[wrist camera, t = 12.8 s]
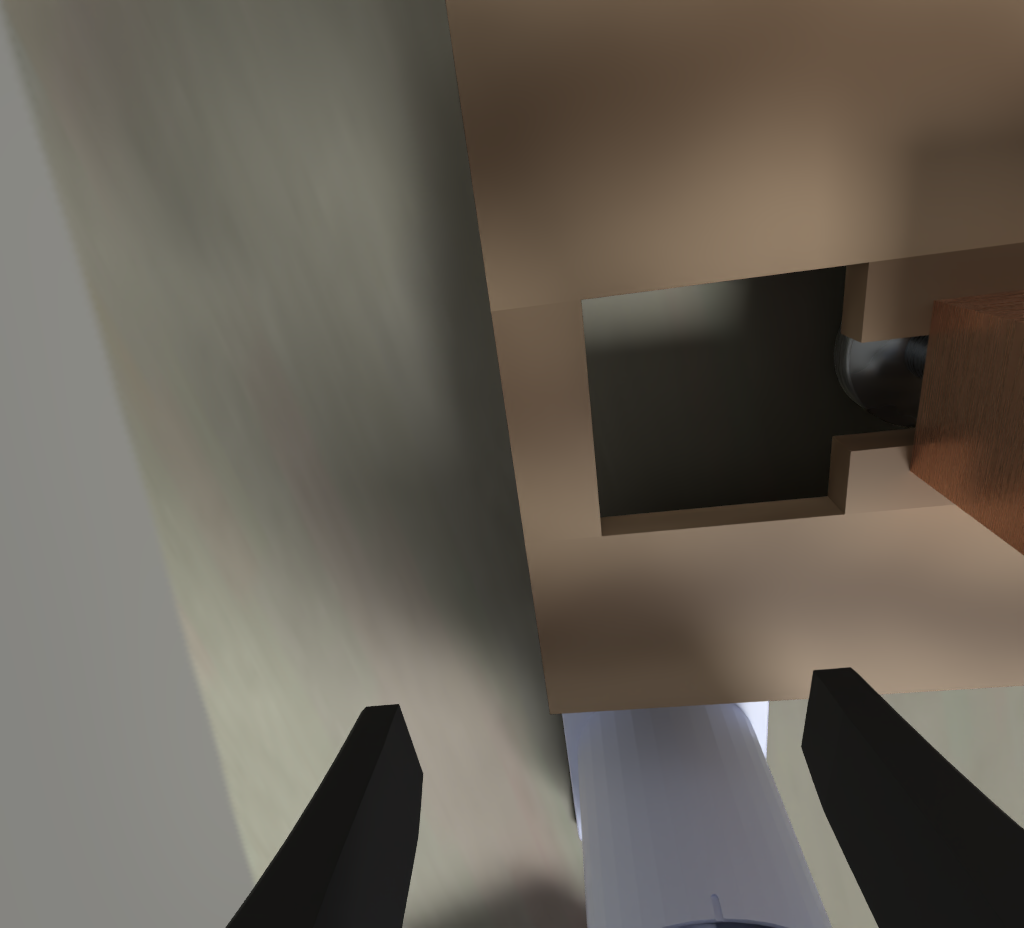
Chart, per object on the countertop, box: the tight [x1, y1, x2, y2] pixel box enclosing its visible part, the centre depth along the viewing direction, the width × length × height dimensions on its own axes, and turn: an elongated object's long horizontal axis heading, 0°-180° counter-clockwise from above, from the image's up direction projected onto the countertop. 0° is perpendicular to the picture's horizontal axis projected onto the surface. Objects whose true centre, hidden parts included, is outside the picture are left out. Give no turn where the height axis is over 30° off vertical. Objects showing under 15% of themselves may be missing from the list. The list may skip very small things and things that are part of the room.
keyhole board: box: [445, 0, 1024, 714], centre depth 16 cm, size 18×16×5 cm
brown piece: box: [834, 290, 1024, 555], centre depth 13 cm, size 4×4×8 cm
